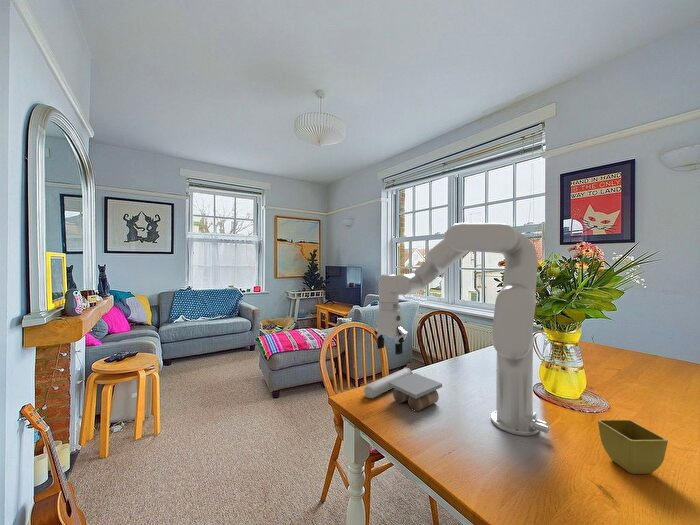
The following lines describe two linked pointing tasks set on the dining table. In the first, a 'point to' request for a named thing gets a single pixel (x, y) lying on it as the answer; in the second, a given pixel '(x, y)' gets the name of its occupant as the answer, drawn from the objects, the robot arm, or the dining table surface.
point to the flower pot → (632, 445)
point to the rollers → (418, 402)
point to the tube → (384, 383)
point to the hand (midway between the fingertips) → (389, 350)
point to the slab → (415, 385)
